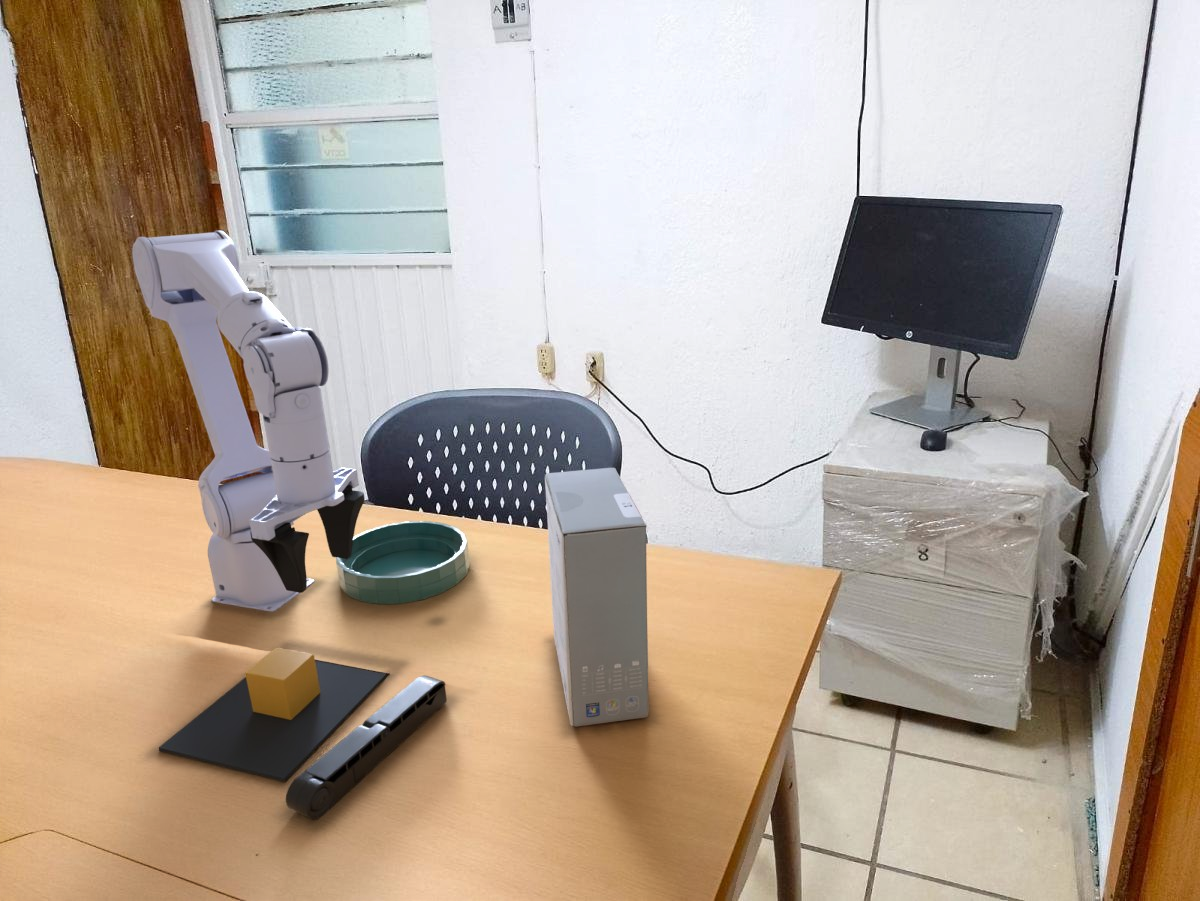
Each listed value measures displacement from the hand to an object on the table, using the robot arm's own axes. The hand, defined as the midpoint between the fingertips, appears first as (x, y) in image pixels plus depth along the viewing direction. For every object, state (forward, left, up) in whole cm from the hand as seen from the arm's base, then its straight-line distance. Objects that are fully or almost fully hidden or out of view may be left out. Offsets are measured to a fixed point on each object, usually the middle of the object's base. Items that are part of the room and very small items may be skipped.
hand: (319, 572), depth 88 cm
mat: (+2, -10, -9) cm, 14 cm away
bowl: (-1, +17, -9) cm, 19 cm away
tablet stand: (+15, -14, -10) cm, 22 cm away
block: (+2, -10, -9) cm, 13 cm away
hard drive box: (+30, +3, -10) cm, 32 cm away
